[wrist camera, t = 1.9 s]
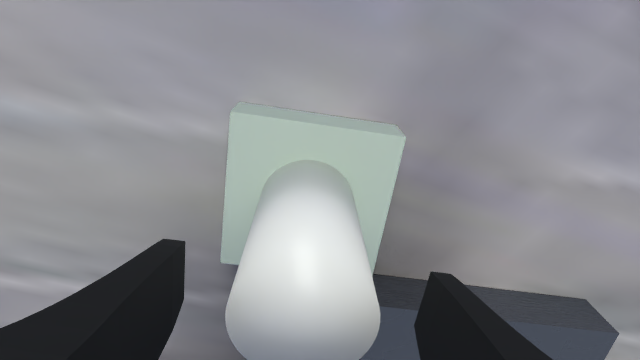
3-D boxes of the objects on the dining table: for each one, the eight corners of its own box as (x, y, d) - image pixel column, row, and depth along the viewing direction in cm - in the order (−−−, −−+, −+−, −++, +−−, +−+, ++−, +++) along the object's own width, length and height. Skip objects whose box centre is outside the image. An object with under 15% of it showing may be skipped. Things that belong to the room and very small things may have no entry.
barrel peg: (256, 238, 17) (220, 370, 11) (265, 153, 16) (230, 246, 9) (345, 249, 17) (364, 385, 11) (362, 167, 16) (395, 266, 9)
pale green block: (229, 239, 19) (220, 262, 17) (239, 101, 17) (230, 111, 15) (365, 256, 20) (371, 280, 18) (396, 125, 17) (405, 137, 15)
